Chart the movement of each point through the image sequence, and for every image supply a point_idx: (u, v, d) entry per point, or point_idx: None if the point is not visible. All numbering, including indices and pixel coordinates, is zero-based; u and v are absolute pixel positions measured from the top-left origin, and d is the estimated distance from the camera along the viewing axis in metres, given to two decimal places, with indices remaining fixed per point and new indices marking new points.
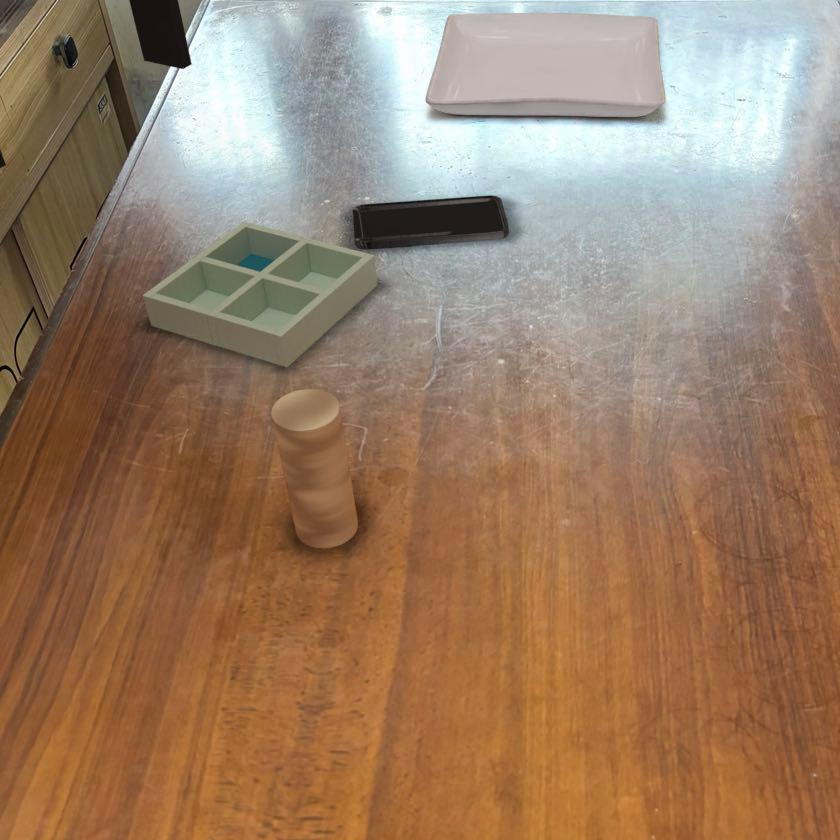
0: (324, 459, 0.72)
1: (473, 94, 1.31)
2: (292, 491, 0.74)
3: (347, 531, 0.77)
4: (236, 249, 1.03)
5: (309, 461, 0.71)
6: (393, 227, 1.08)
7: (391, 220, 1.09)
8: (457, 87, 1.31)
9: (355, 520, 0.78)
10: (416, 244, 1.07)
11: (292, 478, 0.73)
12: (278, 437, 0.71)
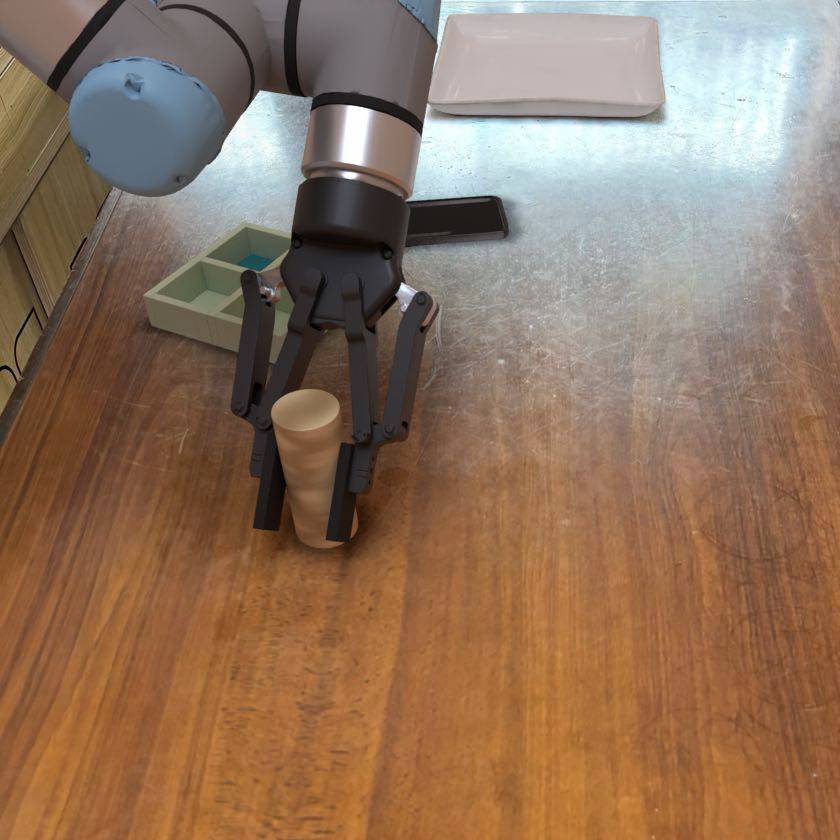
0: (324, 459, 0.72)
1: (473, 94, 1.31)
2: (292, 491, 0.74)
3: None
4: (236, 249, 1.03)
5: (309, 461, 0.71)
6: None
7: None
8: (457, 87, 1.31)
9: (355, 520, 0.78)
10: (416, 244, 1.07)
11: (292, 478, 0.73)
12: (278, 437, 0.71)
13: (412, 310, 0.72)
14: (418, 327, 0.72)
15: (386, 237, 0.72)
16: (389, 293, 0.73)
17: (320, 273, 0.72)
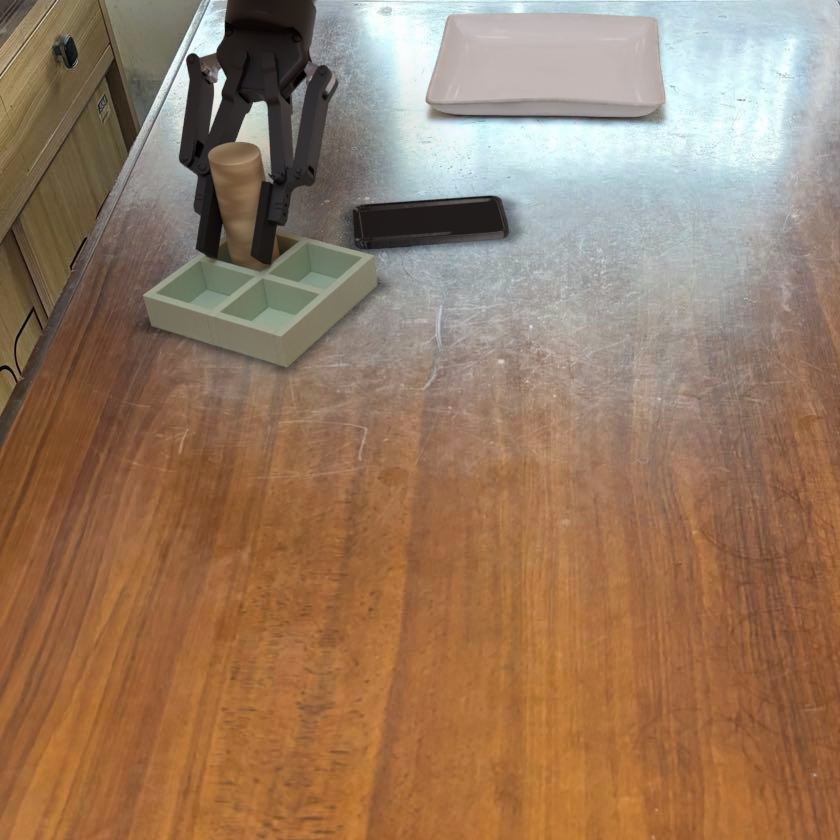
0: (249, 192, 0.94)
1: (473, 94, 1.31)
2: (226, 222, 0.97)
3: None
4: None
5: (237, 192, 0.94)
6: (393, 227, 1.08)
7: (391, 220, 1.09)
8: (457, 87, 1.31)
9: (277, 255, 1.00)
10: (416, 244, 1.07)
11: (225, 210, 0.96)
12: (213, 174, 0.94)
13: (315, 79, 0.95)
14: (320, 93, 0.95)
15: (295, 23, 0.94)
16: (298, 68, 0.95)
17: (246, 52, 0.95)
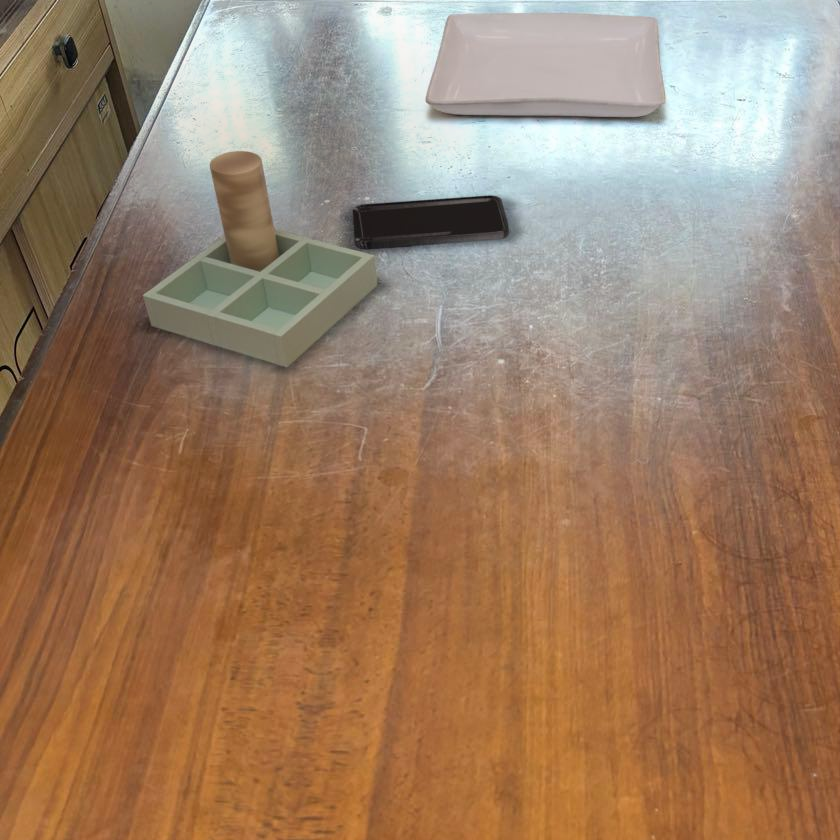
0: (250, 201, 0.95)
1: (473, 94, 1.31)
2: (227, 231, 0.97)
3: None
4: None
5: (238, 201, 0.95)
6: (393, 227, 1.08)
7: (391, 220, 1.09)
8: (457, 87, 1.31)
9: None
10: (416, 244, 1.07)
11: (226, 219, 0.96)
12: (215, 183, 0.94)
13: None
14: None
15: None
16: None
17: None
